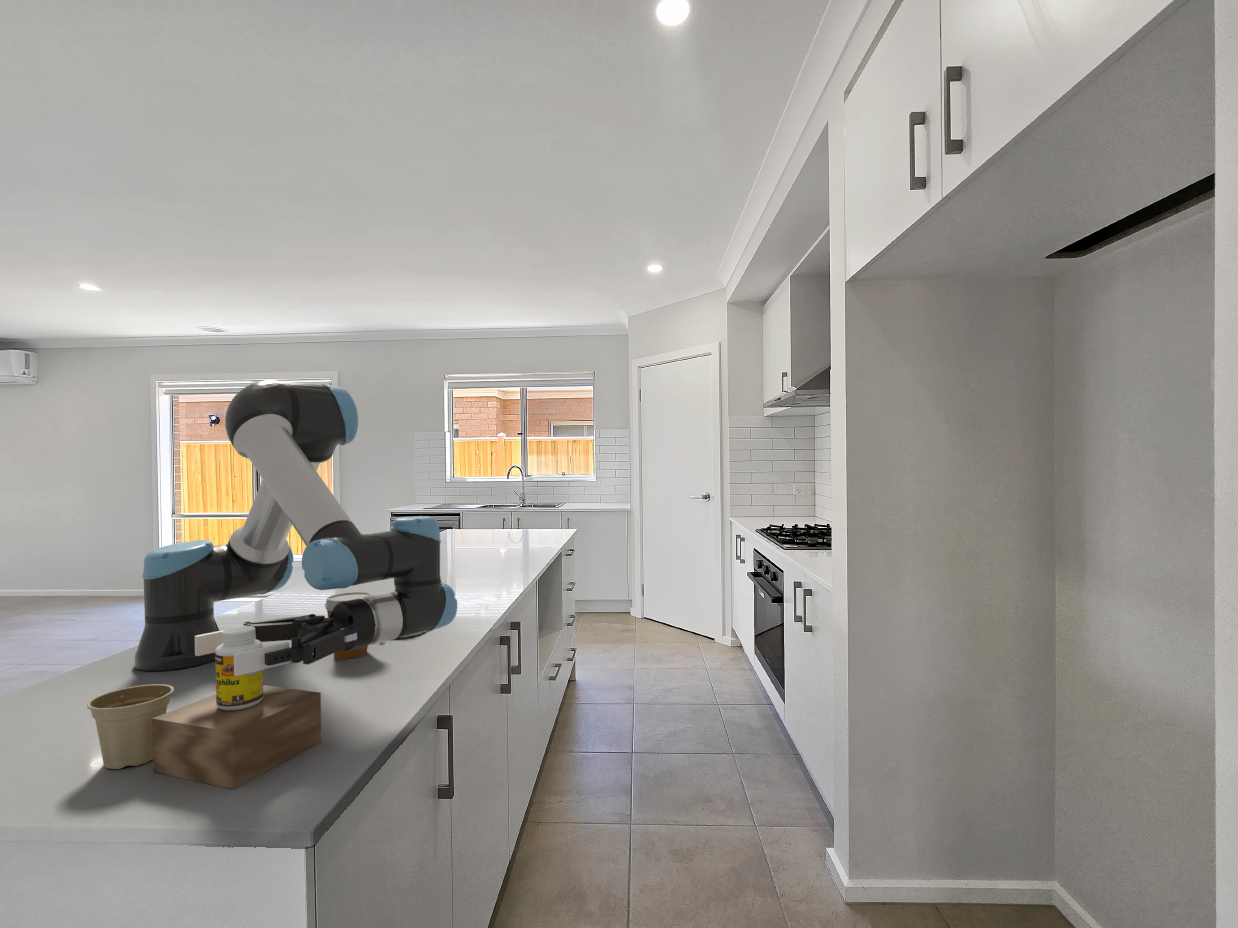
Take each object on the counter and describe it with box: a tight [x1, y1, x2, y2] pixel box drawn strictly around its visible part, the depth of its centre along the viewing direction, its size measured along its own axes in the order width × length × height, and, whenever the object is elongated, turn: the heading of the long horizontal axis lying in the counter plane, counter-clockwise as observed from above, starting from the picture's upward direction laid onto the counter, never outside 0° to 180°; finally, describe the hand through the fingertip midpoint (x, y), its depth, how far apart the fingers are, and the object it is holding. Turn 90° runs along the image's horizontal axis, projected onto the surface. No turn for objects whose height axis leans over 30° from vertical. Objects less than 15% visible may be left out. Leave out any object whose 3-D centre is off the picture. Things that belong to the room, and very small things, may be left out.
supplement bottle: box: [214, 625, 264, 711], centre depth 89 cm, size 6×6×10 cm
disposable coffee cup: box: [323, 591, 372, 660], centre depth 135 cm, size 10×10×12 cm
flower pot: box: [86, 683, 175, 770], centre depth 89 cm, size 9×9×9 cm
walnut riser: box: [152, 684, 323, 790], centre depth 89 cm, size 14×14×7 cm
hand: (214, 654), depth 87 cm, fingers open, 13 cm apart
